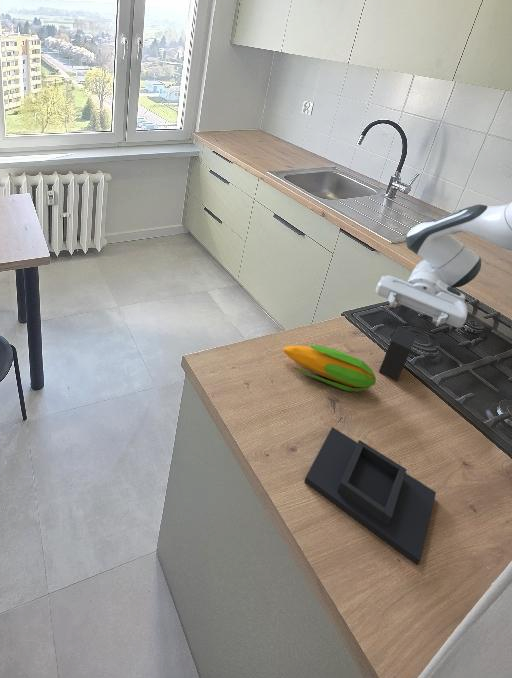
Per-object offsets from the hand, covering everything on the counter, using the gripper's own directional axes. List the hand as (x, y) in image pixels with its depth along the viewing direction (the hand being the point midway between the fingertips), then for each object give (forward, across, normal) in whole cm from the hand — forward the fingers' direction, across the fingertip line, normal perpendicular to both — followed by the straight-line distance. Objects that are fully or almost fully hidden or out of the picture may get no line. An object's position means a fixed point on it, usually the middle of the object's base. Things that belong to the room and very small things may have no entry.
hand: (413, 314), depth 107 cm
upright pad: (+12, 0, +10) cm, 16 cm away
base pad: (+48, +4, +9) cm, 49 cm away
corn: (+27, -11, +10) cm, 31 cm away
